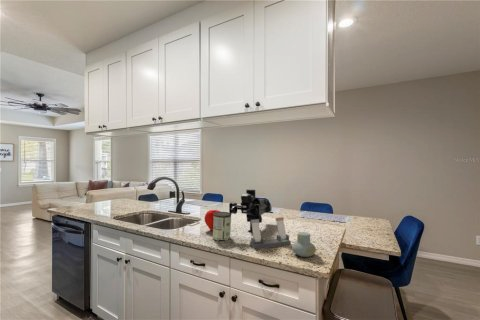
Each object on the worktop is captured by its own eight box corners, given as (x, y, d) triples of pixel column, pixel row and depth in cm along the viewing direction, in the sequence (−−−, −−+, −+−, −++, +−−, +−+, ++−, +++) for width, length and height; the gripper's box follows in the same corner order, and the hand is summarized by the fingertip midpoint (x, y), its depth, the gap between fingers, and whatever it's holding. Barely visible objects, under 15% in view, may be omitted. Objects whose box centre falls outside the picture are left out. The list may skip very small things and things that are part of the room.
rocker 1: (253, 242, 123) (250, 220, 127) (260, 241, 125) (257, 219, 129) (254, 242, 122) (251, 219, 126) (262, 241, 123) (258, 219, 127)
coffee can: (216, 233, 144) (217, 210, 144) (232, 236, 141) (233, 212, 141) (209, 239, 134) (210, 214, 134) (226, 241, 131) (227, 216, 131)
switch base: (249, 245, 125) (249, 236, 125) (284, 241, 132) (284, 233, 132) (254, 249, 119) (254, 240, 120) (290, 244, 127) (290, 236, 127)
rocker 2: (278, 239, 128) (275, 218, 132) (285, 238, 130) (281, 217, 134) (280, 239, 127) (277, 217, 131) (287, 238, 128) (283, 217, 132)
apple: (201, 231, 151) (201, 210, 152) (209, 227, 162) (209, 207, 163) (218, 233, 148) (218, 211, 148) (225, 228, 159) (225, 208, 159)
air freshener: (302, 260, 106) (302, 237, 106) (289, 254, 113) (289, 233, 113) (318, 255, 112) (318, 233, 112) (304, 250, 119) (304, 230, 119)
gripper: (235, 193, 148) (223, 196, 134) (263, 194, 141) (254, 197, 126) (235, 211, 148) (223, 215, 134) (263, 213, 140) (254, 218, 126)
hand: (238, 211), depth 130 cm, fingers open, 9 cm apart
